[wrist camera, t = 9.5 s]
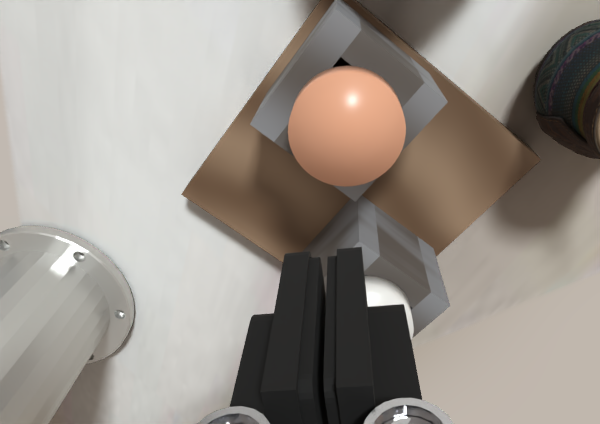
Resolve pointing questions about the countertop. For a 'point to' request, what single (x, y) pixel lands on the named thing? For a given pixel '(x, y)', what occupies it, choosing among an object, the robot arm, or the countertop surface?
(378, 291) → the white round part
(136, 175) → the countertop surface
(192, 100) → the countertop surface
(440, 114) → the board
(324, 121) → the orange rounded piece
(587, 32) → the mate gourd
